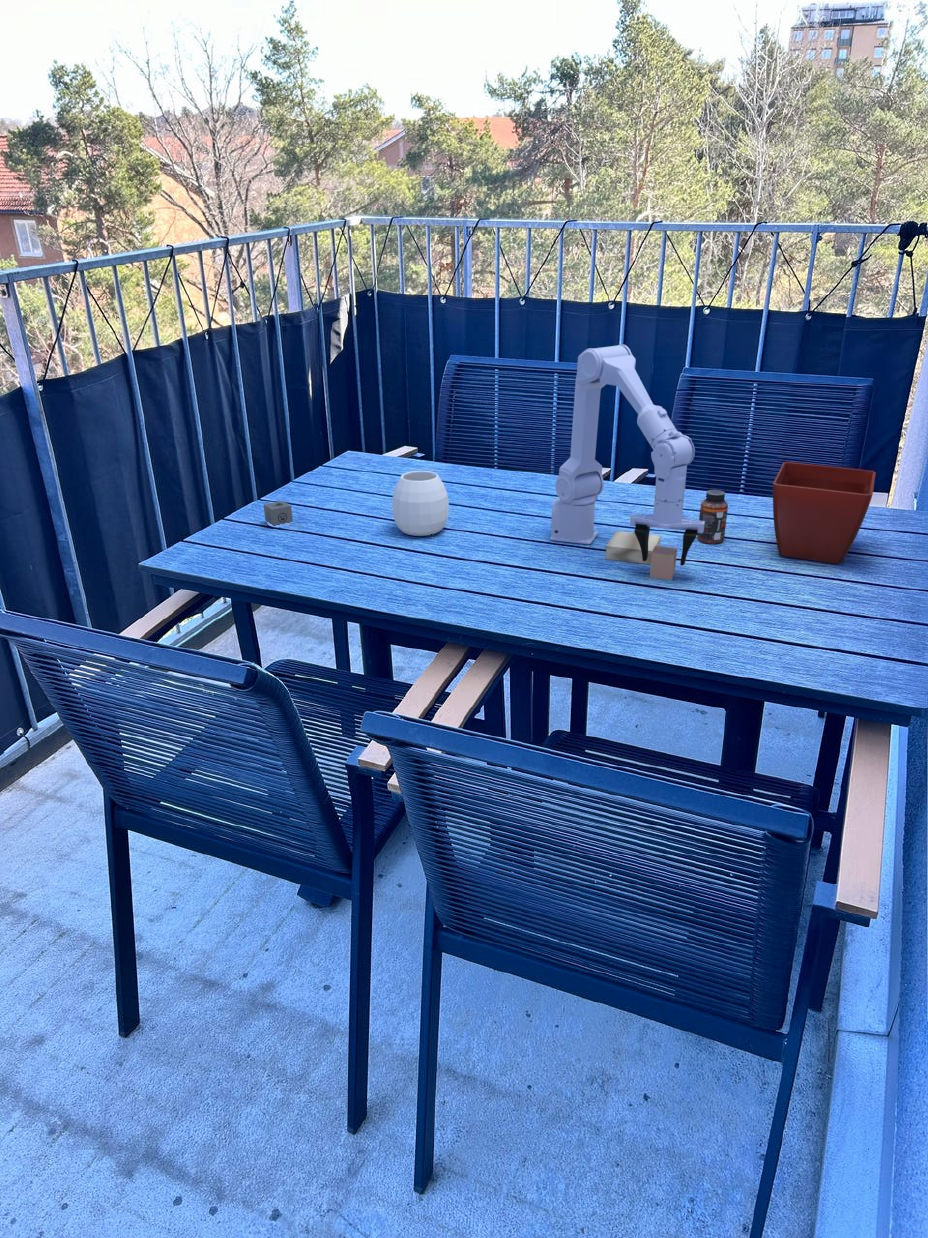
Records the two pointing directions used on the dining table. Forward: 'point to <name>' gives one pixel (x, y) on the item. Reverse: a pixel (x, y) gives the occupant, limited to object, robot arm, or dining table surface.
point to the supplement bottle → (713, 517)
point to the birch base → (629, 547)
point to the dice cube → (278, 513)
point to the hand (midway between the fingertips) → (663, 561)
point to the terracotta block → (663, 562)
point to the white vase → (420, 503)
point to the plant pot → (819, 510)
